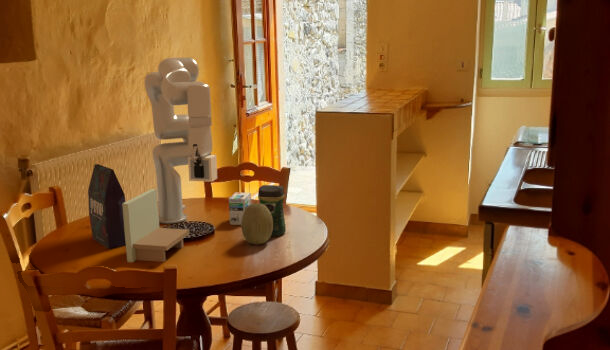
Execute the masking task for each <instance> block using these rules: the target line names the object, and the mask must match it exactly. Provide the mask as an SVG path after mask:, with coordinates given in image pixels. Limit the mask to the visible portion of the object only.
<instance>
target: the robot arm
mask: <svg viewBox="0 0 610 350" xmlns="http://www.w3.org/2000/svg"><path fill="white" fill-rule="evenodd" d="M157 70H158V71H153V72H150V73H148V74H146V75H145V77H144V90H145V92H146V93H145V94H146V95H147V97H148V99H149V102H150V105H151V112H152V123H153V125H152V126H153V131H154V132H153V133H154V137H156V139H157V140H167V141H168V140H179V139H182V140H183V141H173V142H163V143H159V144H156V145H155V146H154V147H153V149H152V160H153V164H154V168H155V176H156V189H157V201H158V215H159V224H167V225H169V224H177V223H182V222H184V221H186V220H187V219H188V215H187V214H186V213H184V210H185V209H186V205H185V204H183V195H182V194H183V192H182V190H183V189H182V178H181V175H180V173H179V172H178V171H177V170H176V169H175V168H174V167H179V166H180V167H181V166H186V165H187V166H188V157H189V156H190V157H191V159H192V161H193V166H194V177H195V178H204V166H202V164H203V157H204V156H206V155H212V152H213V137H212V136H213V135H212V128H211V127H212V126H213V123H212V122H213V121H212V120H213V119H212V103H211V102H212V101H211V97H212V96H211V88H210V85H209V84H208V83H205V82H203V81H197V79H198V78H199V74H200V68H199V64H198V62H197V61H196V60H195V59H194V58H192V57H168V58H164V59H162V60H161V61H160V62H159V64H158V67H157ZM185 105H186V106H187V114H175V106H185ZM197 155H200V156H197ZM197 158H198V159H197ZM199 159H200V161H199Z"/></svg>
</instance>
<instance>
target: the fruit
mask: <svg viewBox="0 0 610 350" xmlns="http://www.w3.org/2000/svg"><path fill="white" fill-rule="evenodd" d="M240 226H241V232H242V236H243V237H244V239H245V241H247V242H248V243H250V244H252V245H255V246H257V245H262V244H264V243H266V242H267V241H268V240H269V239H270V238H271V237H272V236H271V234H272V231H273V218H272V215H271V213H270V211H269V209H268V208H267V207H266V206H265V205H263V204H261V203H260V202H253V203H251V204H250V205H249V206H248V207H247V208H246V209H245V211H244V213H243V217H242V222H241V225H240Z"/></svg>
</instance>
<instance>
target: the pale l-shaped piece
mask: <svg viewBox="0 0 610 350" xmlns="http://www.w3.org/2000/svg"><path fill="white" fill-rule="evenodd" d="M122 205H123V217H124V229H125V241H126V245H125V250H126V251H125V252H126V261H127V263H134V262H135V261H143V262H144V261H145V262H158V263H159V262H160V263H165V262H166V260H167V259H166V251H168V250H170V249H171V248H177V249H183V248H184V238H186V237H187V236H188V235H190V229H184V228H183V229H182V228H165V227H160V223H159V205H158V191H157V188H151V189H148V190H147V191H144V192H143V193H141V194H138V195H137V196H134V197H132V198H131V199H129V200H126V201H125V203H123V204H122Z"/></svg>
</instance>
